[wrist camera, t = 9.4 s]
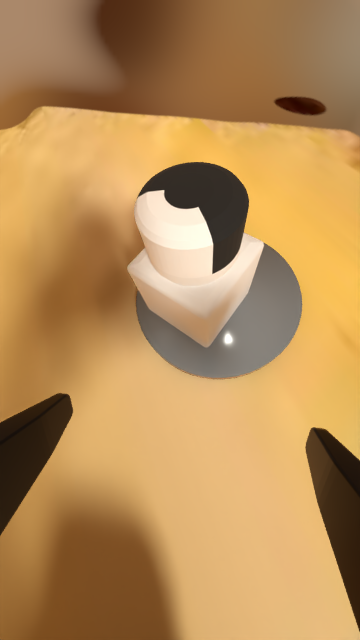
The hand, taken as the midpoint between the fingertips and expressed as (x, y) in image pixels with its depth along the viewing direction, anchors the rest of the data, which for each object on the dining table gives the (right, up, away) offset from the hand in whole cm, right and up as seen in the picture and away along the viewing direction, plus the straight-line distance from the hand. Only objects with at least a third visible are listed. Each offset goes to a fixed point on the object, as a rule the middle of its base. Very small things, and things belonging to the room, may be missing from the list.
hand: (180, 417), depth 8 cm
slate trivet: (+4, +6, +15) cm, 17 cm away
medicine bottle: (+2, +5, +14) cm, 15 cm away
